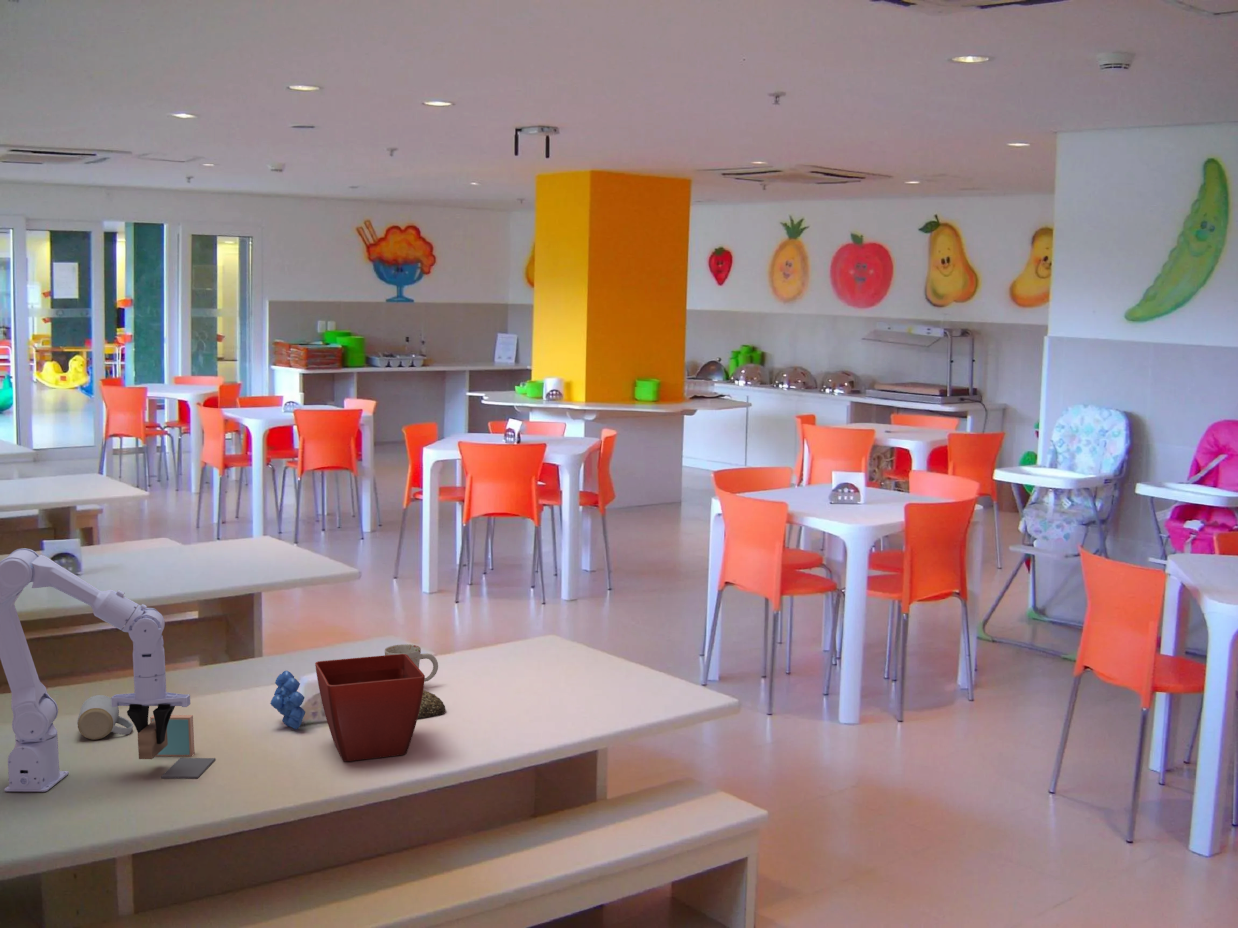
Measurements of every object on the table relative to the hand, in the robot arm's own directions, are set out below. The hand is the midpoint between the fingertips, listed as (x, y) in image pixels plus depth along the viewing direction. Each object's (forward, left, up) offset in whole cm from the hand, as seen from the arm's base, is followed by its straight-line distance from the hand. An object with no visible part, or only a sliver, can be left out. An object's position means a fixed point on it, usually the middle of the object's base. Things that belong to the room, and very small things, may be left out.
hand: (152, 742), depth 243 cm
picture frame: (+10, 0, -6) cm, 12 cm away
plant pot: (+14, -39, -6) cm, 42 cm away
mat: (+2, -6, -6) cm, 9 cm away
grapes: (+27, -18, -6) cm, 33 cm away
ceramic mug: (+22, +19, -6) cm, 30 cm away
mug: (+55, -40, -6) cm, 68 cm away
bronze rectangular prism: (0, 0, -2) cm, 2 cm away
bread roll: (+39, -44, -7) cm, 59 cm away
